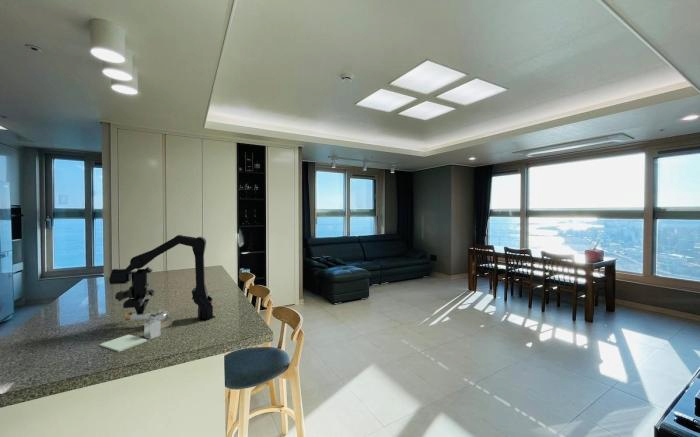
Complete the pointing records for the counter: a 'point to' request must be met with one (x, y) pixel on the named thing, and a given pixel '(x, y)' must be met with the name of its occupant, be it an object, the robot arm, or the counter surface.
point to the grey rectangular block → (152, 329)
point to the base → (166, 322)
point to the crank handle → (149, 315)
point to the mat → (123, 343)
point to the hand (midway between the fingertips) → (139, 316)
